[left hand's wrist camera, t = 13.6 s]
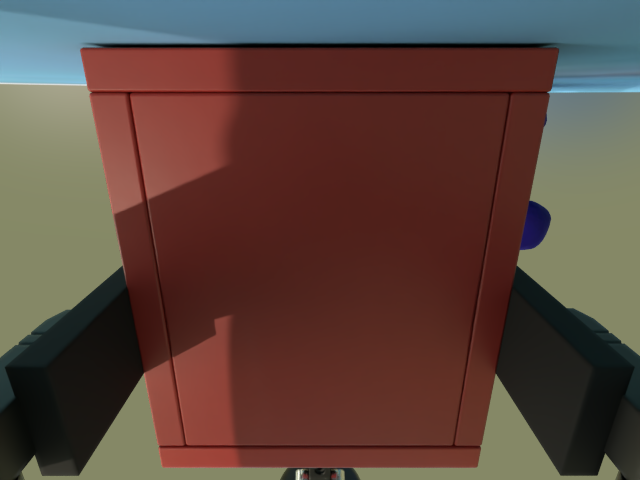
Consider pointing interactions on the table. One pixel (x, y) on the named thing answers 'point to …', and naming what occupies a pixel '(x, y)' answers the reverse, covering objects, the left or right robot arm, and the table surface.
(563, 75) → the table surface
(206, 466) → the lid
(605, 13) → the table surface
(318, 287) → the chest
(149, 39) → the table surface
